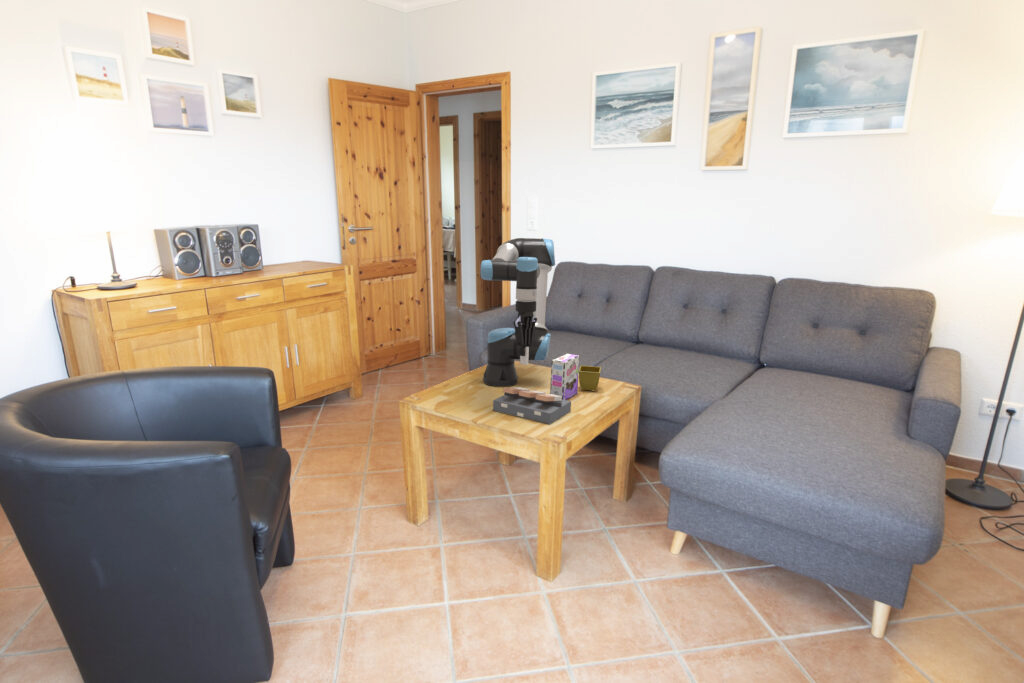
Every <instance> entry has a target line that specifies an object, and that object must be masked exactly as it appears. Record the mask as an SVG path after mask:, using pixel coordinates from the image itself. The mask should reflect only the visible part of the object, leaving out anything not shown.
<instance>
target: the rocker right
mask: <svg viewBox="0 0 1024 683" xmlns="http://www.w3.org/2000/svg"><path fill="white" fill-rule="evenodd" d="M536 399H538V400H542V401H561V400H562V396H558V395H554V394H550V393H549V394H548V393H545V394H539V395H536Z"/></svg>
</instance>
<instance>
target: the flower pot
mask: <svg viewBox="0 0 1024 683" xmlns="http://www.w3.org/2000/svg"><path fill="white" fill-rule="evenodd" d="M579 366H580V367H579V371H578V384H579V386H580V388H581V390H582V391H584V390H595V391H596V390H597V388H598V385H599V383H600V381H599V380H600V376H601V371H602V367H601V366H592V365H591V366H590V365H579Z"/></svg>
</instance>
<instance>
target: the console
mask: <svg viewBox="0 0 1024 683" xmlns="http://www.w3.org/2000/svg"><path fill="white" fill-rule="evenodd" d="M503 393H504V394H503V395H501V396H499V397H497V398H495V399H493V400H492V411H494V412H499V413H501V414H502V413H503V414H506V415H509V416H510V415H511V416H513V417H518V418H523V419H526V420H531V421H535V422H538V423H543V424H547V425H551V424H553V423H554V422H556V421H558V420H560V419H561V418H562V417H565V415H567V414H569V413H571V411H572V409H571V408H572V401H571V400H568V399H567V400H563V399H562V400H561V401H542V400H538V399H536V397H533V398H529V397H524V396H519V394H511V393H506V392H503Z"/></svg>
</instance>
